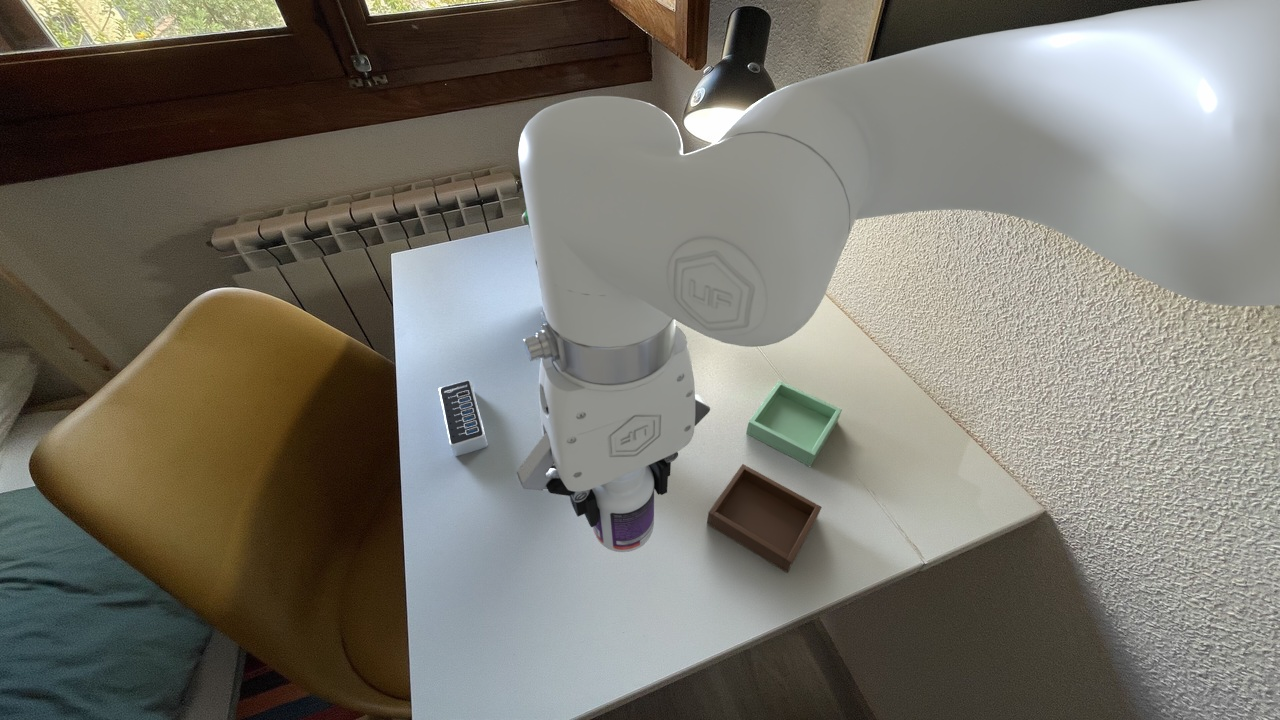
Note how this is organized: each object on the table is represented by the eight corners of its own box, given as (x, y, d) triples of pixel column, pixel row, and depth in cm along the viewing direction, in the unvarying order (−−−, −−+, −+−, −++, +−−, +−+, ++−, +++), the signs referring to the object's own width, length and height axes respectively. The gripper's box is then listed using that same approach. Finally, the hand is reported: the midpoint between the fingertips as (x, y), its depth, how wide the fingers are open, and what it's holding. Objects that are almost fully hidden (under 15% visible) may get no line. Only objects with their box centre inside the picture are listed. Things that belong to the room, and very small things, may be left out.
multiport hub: (454, 457, 70) (450, 446, 69) (442, 398, 78) (438, 387, 76) (488, 446, 72) (485, 435, 70) (473, 389, 79) (470, 378, 77)
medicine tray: (837, 421, 75) (842, 409, 73) (810, 467, 69) (814, 455, 68) (775, 392, 78) (779, 380, 77) (745, 433, 73) (748, 421, 71)
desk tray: (817, 517, 64) (821, 506, 62) (787, 573, 59) (791, 562, 58) (740, 475, 68) (742, 463, 67) (706, 523, 64) (708, 512, 62)
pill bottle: (663, 511, 49) (666, 445, 42) (638, 564, 46) (637, 500, 39) (609, 490, 51) (603, 423, 44) (581, 539, 47) (570, 474, 40)
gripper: (487, 424, 27) (538, 583, 40) (768, 321, 33) (734, 489, 45) (451, 336, 32) (507, 502, 44) (701, 259, 37) (688, 426, 50)
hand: (621, 494), depth 45 cm, fingers closed on pill bottle, 5 cm apart
